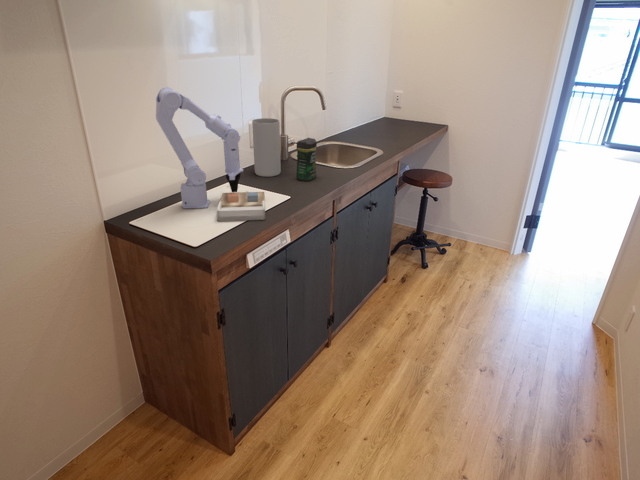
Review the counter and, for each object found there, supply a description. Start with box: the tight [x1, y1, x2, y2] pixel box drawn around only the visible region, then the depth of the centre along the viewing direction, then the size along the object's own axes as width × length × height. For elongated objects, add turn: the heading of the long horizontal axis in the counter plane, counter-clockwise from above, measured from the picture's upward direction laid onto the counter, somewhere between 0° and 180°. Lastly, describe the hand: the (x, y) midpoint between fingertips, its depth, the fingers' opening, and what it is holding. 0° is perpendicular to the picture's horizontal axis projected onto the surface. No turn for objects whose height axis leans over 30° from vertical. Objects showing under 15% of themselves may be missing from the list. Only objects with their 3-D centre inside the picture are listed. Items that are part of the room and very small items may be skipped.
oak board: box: [219, 191, 266, 207], centre depth 166 cm, size 17×14×2 cm
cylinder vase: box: [251, 117, 282, 178], centre depth 197 cm, size 12×12×25 cm
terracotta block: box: [227, 191, 240, 202], centre depth 162 cm, size 4×4×2 cm
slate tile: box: [247, 191, 259, 202], centre depth 163 cm, size 4×4×2 cm
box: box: [216, 200, 266, 222], centre depth 155 cm, size 17×9×4 cm, turn 97°
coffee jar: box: [295, 137, 318, 182], centre depth 193 cm, size 10×8×19 cm
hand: (234, 191), depth 170 cm, fingers closed
